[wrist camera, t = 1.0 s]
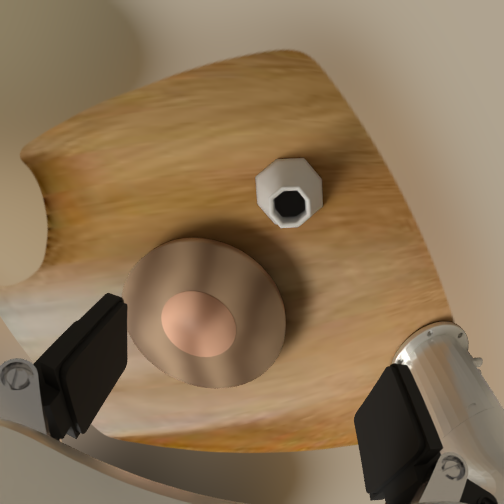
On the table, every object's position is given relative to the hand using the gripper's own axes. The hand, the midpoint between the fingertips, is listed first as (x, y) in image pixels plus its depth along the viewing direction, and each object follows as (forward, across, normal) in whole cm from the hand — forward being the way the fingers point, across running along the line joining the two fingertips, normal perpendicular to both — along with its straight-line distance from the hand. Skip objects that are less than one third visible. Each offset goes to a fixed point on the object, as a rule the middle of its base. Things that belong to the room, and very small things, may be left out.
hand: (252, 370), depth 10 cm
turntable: (+22, +5, +14) cm, 27 cm away
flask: (+24, -1, -3) cm, 24 cm away
